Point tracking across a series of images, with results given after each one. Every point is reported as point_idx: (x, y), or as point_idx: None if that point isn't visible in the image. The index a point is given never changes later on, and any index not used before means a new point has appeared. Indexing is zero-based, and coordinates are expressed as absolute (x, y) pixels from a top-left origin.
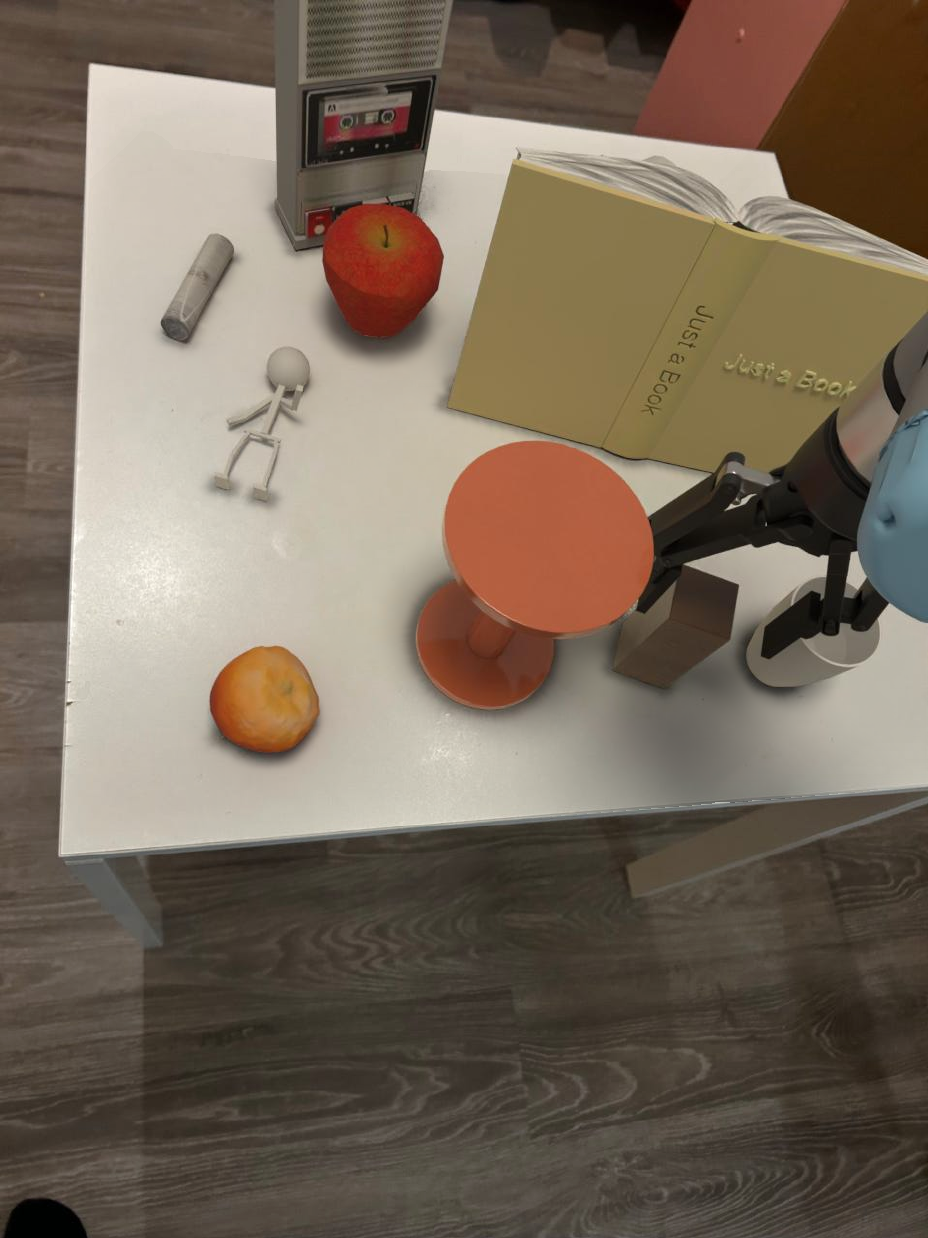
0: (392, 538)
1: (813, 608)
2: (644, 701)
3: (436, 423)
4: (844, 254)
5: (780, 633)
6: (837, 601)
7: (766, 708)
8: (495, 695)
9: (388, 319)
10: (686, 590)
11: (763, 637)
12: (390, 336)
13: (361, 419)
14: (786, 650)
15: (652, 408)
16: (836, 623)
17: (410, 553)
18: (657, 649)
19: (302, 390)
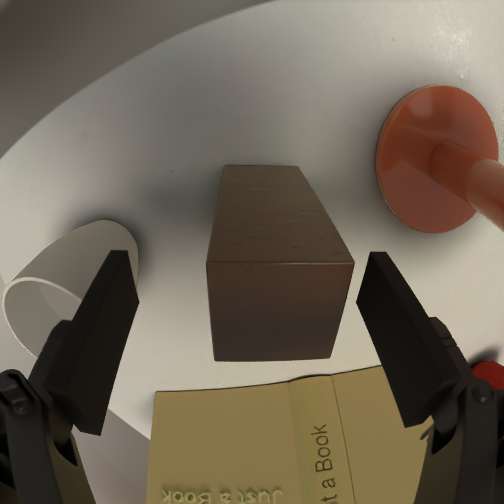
0: (499, 237)
1: (74, 412)
2: (247, 140)
3: (456, 335)
4: None
5: (111, 313)
6: (30, 502)
7: (97, 192)
8: (435, 99)
9: (497, 382)
10: (319, 324)
11: (134, 285)
12: (476, 369)
13: (498, 314)
14: (94, 271)
15: (318, 432)
16: (11, 405)
17: (490, 230)
18: (292, 201)
19: None
